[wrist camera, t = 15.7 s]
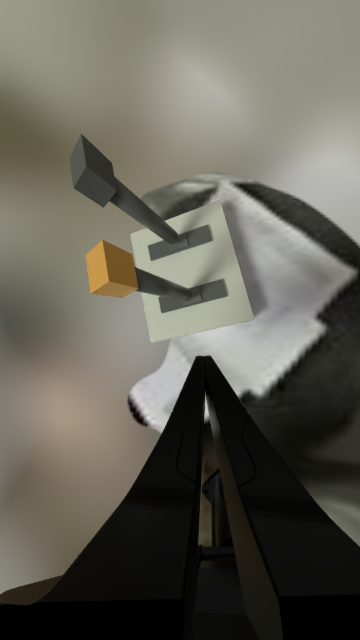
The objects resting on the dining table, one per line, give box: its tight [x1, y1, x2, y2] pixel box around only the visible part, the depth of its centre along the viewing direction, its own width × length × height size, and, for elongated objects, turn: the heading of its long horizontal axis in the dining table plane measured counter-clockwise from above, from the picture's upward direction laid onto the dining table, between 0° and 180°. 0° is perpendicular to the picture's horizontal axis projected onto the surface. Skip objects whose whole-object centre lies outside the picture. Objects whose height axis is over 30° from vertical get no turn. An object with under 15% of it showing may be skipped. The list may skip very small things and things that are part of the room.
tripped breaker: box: [86, 240, 192, 302], centre depth 13 cm, size 2×2×11 cm
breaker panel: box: [70, 134, 254, 342], centre depth 14 cm, size 16×13×14 cm
